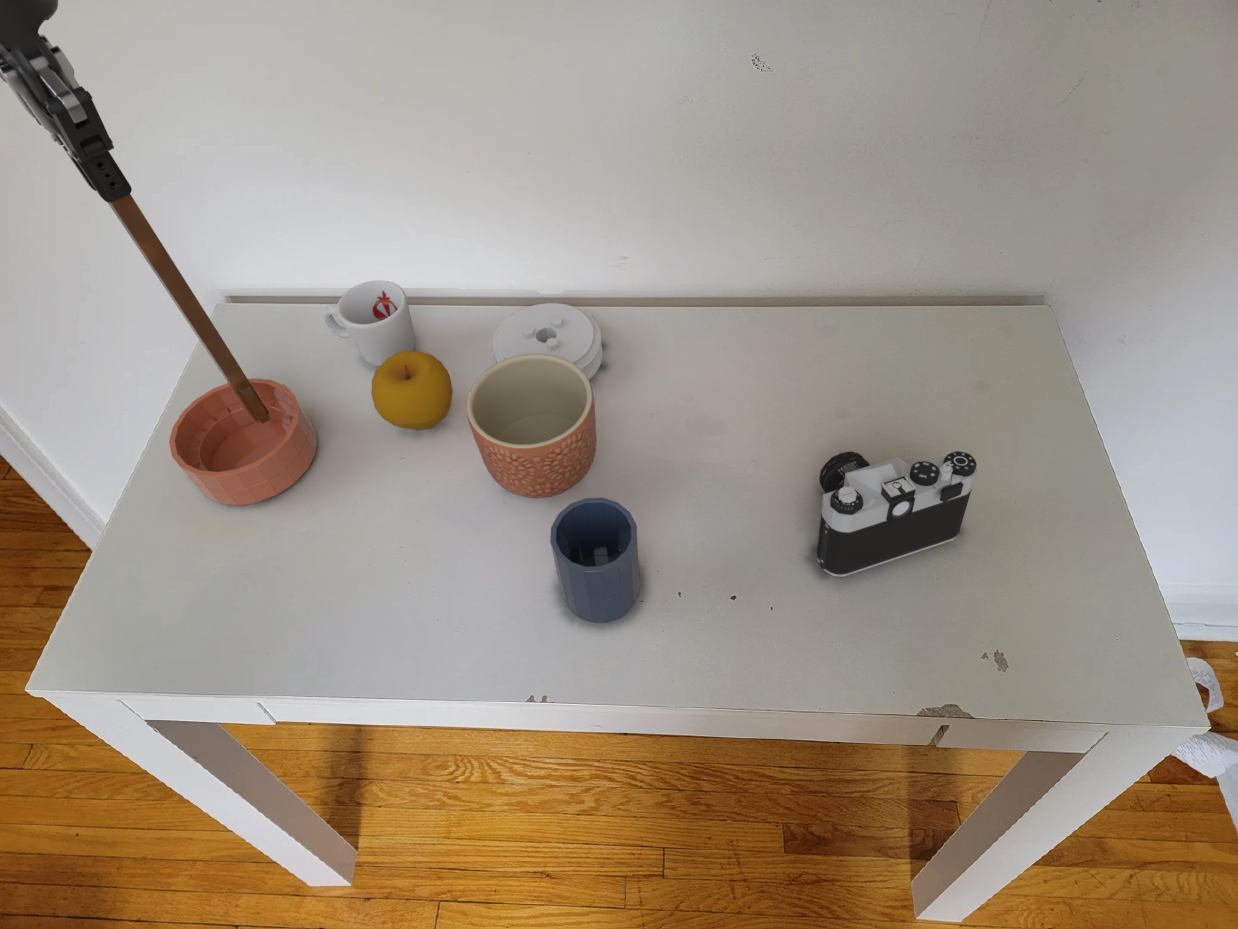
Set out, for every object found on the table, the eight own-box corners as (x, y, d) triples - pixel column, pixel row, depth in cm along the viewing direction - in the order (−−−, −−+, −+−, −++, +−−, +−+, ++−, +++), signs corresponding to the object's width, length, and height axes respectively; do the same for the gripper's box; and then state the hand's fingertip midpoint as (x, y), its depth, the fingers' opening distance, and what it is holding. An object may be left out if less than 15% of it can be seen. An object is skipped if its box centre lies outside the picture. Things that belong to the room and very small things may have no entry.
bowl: (234, 531, 79) (206, 498, 75) (176, 461, 85) (147, 427, 81) (342, 456, 85) (322, 421, 80) (280, 396, 91) (259, 360, 86)
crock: (600, 638, 70) (592, 588, 62) (546, 589, 74) (532, 534, 66) (655, 586, 73) (654, 531, 65) (601, 540, 77) (594, 483, 69)
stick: (260, 425, 81) (72, 142, 55) (245, 410, 82) (55, 126, 56) (273, 417, 81) (93, 133, 56) (258, 401, 83) (76, 117, 57)
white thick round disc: (483, 345, 94) (475, 314, 90) (578, 312, 97) (574, 281, 93) (519, 415, 87) (512, 385, 83) (620, 378, 90) (618, 347, 86)
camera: (908, 472, 81) (923, 398, 75) (972, 543, 74) (996, 468, 67) (782, 512, 79) (786, 439, 72) (834, 589, 71) (844, 516, 65)
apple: (396, 459, 84) (371, 406, 77) (378, 407, 89) (353, 352, 82) (470, 432, 86) (453, 378, 79) (448, 382, 91) (430, 327, 84)
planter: (462, 480, 82) (438, 413, 73) (533, 405, 88) (519, 335, 79) (554, 533, 77) (540, 469, 69) (623, 451, 83) (618, 382, 75)
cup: (326, 370, 93) (301, 321, 86) (351, 325, 97) (328, 275, 91) (411, 378, 91) (392, 329, 85) (431, 332, 96) (415, 281, 90)
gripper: (-152, -70, 48) (32, 179, 62) (-86, -11, 42) (102, 251, 56) (-27, -106, 51) (122, 139, 65) (52, -55, 45) (197, 203, 58)
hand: (112, 190), depth 60 cm, fingers closed on stick, 1 cm apart
